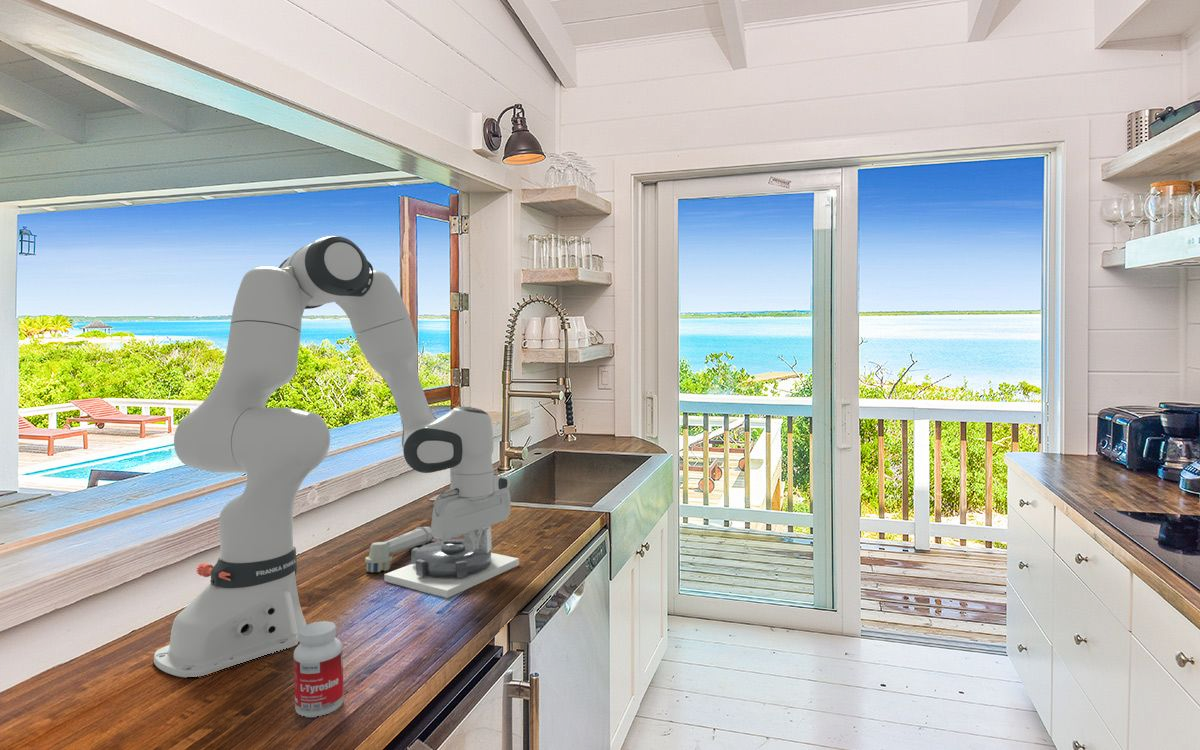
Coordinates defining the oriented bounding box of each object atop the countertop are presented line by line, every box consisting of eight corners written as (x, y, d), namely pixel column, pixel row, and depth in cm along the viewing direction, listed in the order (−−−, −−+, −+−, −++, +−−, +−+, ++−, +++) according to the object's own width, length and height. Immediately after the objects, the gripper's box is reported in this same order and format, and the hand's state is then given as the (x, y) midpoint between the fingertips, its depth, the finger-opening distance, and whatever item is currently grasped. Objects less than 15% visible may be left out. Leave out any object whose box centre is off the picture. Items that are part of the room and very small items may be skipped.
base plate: (447, 598, 130) (446, 589, 130) (384, 581, 140) (384, 573, 140) (519, 565, 149) (518, 557, 149) (459, 552, 158) (459, 545, 158)
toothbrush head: (437, 525, 168) (382, 541, 144) (436, 552, 167) (381, 573, 143) (418, 524, 169) (360, 540, 145) (417, 551, 169) (359, 571, 144)
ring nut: (397, 576, 137) (396, 537, 137) (427, 550, 153) (427, 516, 153) (478, 578, 135) (477, 539, 134) (500, 552, 151) (499, 517, 151)
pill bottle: (295, 723, 88) (291, 641, 87) (295, 701, 94) (292, 623, 93) (345, 712, 90) (342, 632, 90) (342, 691, 96) (340, 615, 95)
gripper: (446, 496, 128) (447, 567, 129) (515, 478, 146) (515, 540, 146) (423, 492, 132) (424, 561, 133) (493, 474, 149) (493, 536, 150)
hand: (472, 550), depth 140 cm, fingers closed
